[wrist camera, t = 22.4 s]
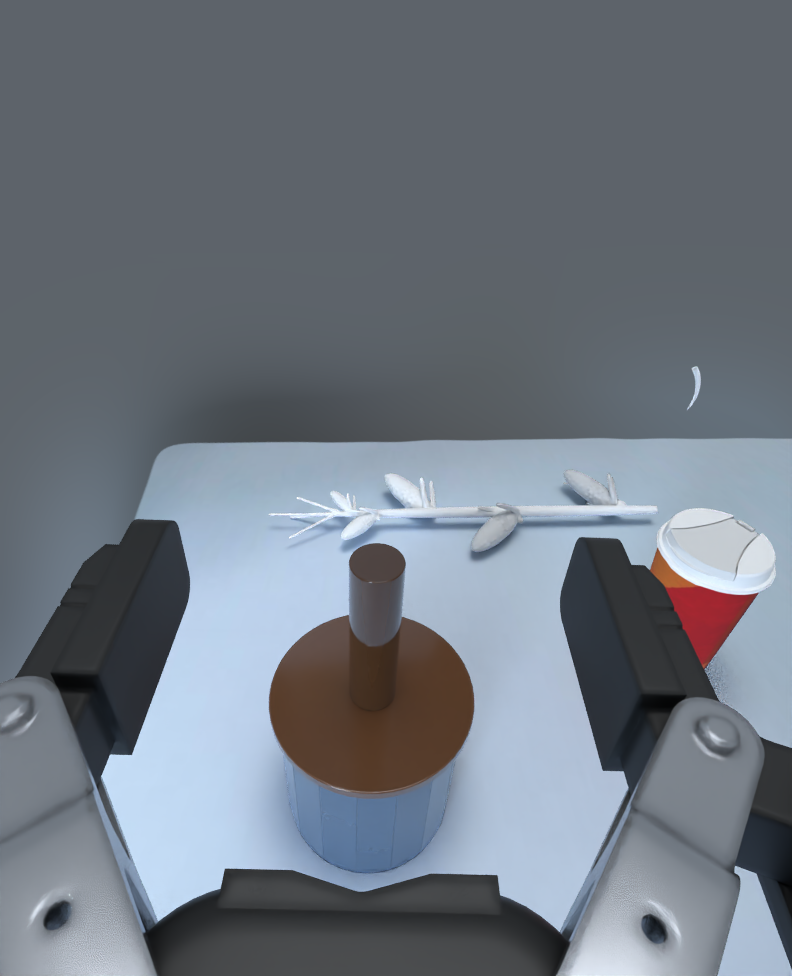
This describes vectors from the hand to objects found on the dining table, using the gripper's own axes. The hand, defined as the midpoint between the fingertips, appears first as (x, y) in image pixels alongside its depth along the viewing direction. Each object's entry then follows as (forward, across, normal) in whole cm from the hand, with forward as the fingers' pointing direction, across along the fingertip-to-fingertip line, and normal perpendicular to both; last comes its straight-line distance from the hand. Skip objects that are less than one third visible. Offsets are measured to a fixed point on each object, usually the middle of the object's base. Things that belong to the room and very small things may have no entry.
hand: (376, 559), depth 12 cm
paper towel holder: (+11, 0, +22) cm, 24 cm away
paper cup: (+22, -23, +32) cm, 45 cm away
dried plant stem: (+39, -9, +32) cm, 52 cm away
